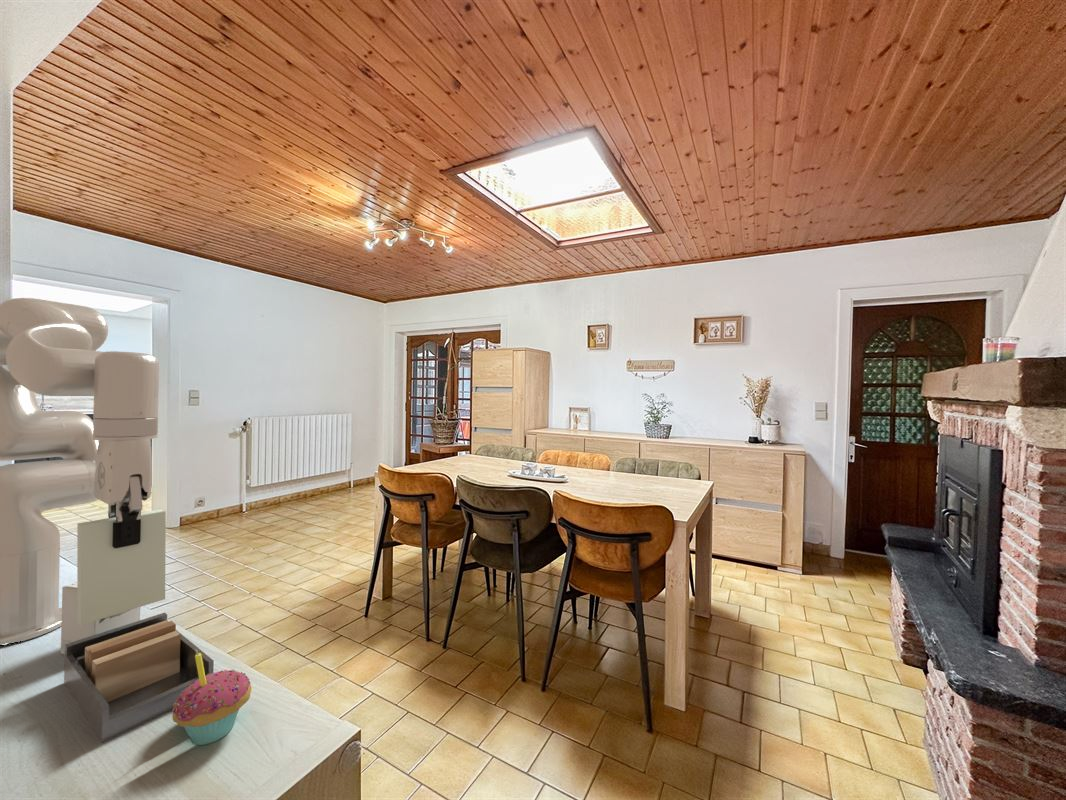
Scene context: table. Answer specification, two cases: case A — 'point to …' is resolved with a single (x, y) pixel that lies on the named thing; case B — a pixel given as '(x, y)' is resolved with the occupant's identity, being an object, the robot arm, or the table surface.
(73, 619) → the supplement box
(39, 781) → the table surface
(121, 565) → the grey flat panel
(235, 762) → the table surface
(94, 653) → the offcuts
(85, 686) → the bin
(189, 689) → the cupcake
